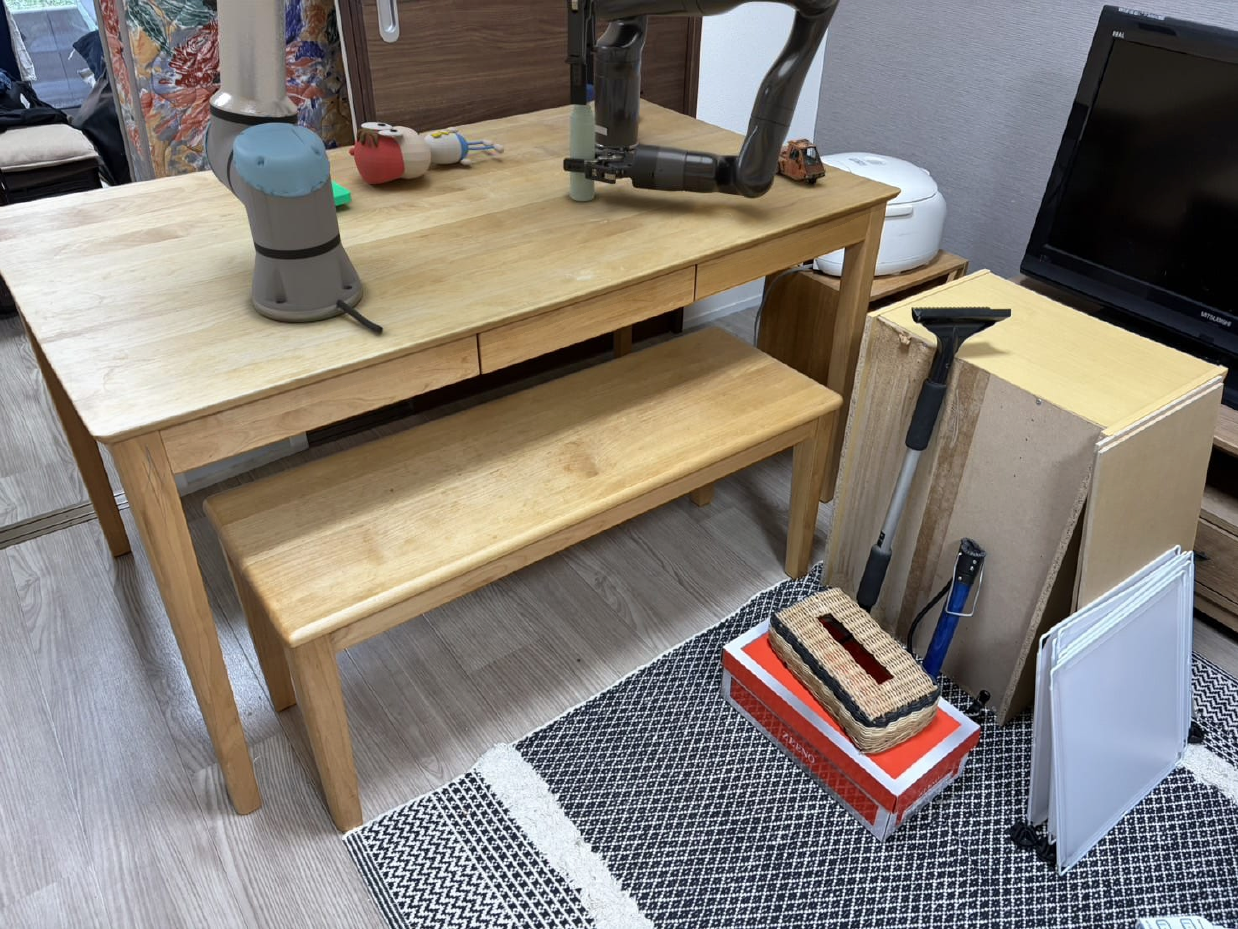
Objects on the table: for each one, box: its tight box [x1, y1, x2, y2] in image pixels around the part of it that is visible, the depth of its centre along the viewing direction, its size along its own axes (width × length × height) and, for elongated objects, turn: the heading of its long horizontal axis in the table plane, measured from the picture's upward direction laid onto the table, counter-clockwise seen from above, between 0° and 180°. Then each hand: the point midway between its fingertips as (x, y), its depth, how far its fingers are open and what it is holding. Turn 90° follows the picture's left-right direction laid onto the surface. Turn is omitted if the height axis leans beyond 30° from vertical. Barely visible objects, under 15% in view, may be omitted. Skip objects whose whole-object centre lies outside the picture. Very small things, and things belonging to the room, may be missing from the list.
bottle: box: [569, 102, 596, 202], centre depth 164 cm, size 4×4×19 cm
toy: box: [348, 121, 505, 185], centre depth 177 cm, size 18×10×30 cm
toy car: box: [775, 138, 827, 186], centre depth 178 cm, size 6×12×7 cm, turn 39°
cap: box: [587, 84, 595, 103], centre depth 159 cm, size 4×4×2 cm
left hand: (582, 98), depth 159 cm, fingers open, 6 cm apart
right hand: (567, 159), depth 166 cm, fingers closed on bottle, 4 cm apart
